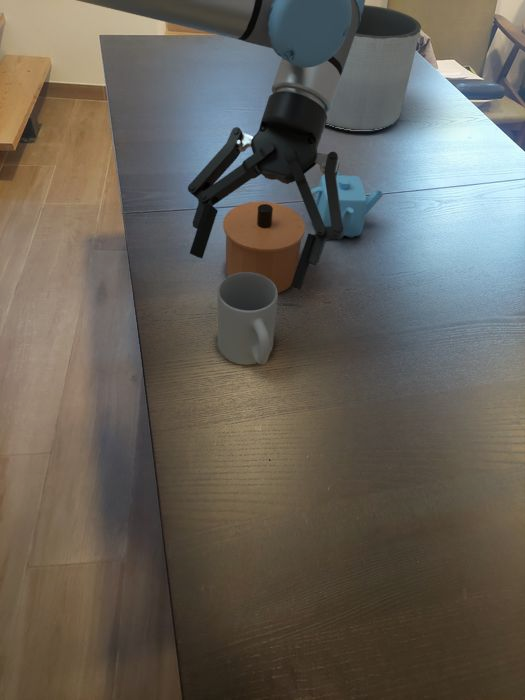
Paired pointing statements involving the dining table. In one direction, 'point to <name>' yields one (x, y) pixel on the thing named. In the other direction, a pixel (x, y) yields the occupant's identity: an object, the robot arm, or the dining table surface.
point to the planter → (375, 71)
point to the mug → (246, 317)
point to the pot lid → (264, 226)
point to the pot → (264, 263)
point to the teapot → (347, 203)
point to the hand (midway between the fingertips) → (244, 272)
